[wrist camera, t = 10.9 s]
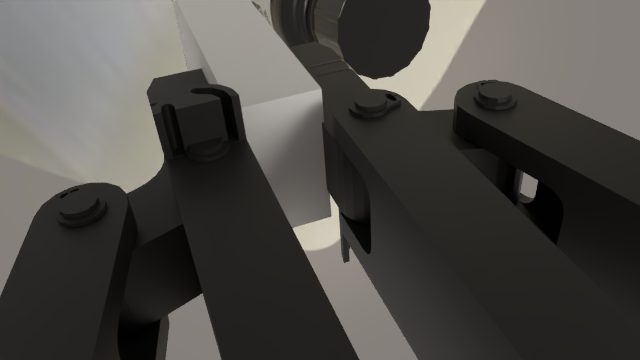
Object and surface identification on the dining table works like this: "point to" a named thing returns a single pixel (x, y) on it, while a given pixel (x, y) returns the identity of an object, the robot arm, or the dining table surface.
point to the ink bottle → (354, 29)
